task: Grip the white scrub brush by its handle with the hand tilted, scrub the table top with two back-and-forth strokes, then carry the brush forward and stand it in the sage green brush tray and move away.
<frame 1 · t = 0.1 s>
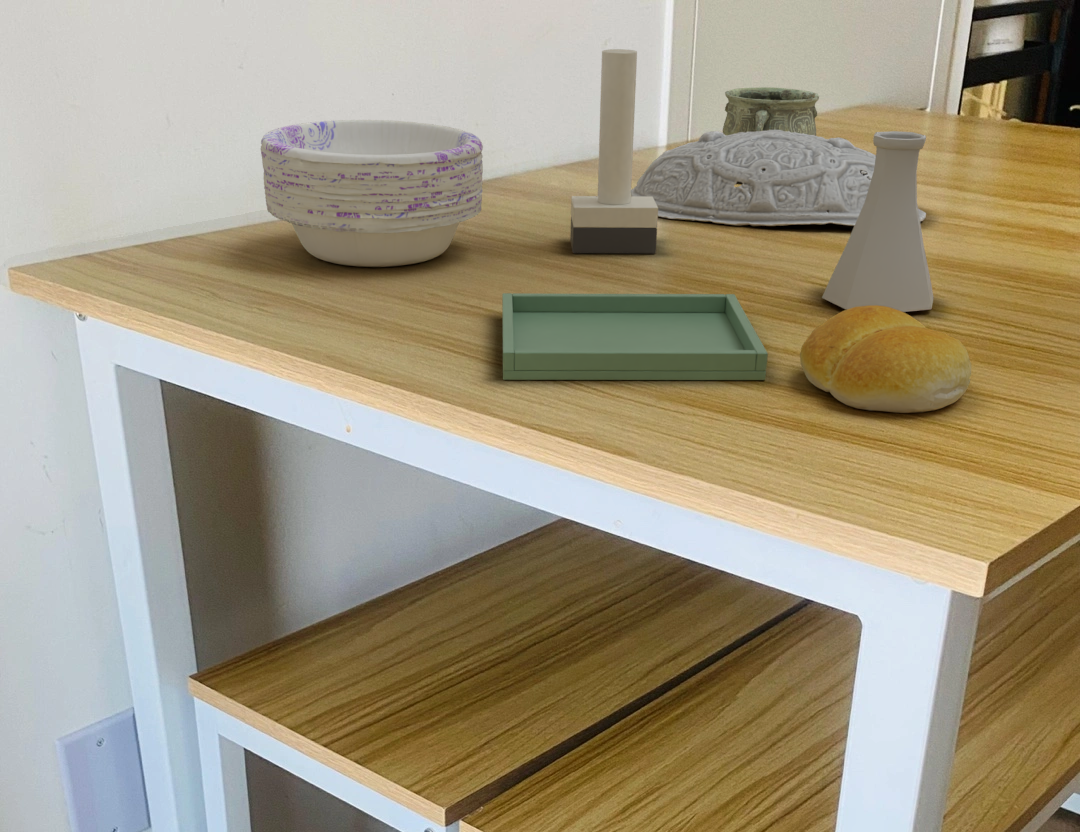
grey carved stone ornament: (769, 211, 113), on the table
brush: (612, 247, 100), on the table
paper bowls: (378, 255, 98), on the table
flask: (876, 305, 88), on the table
vessel: (765, 167, 130), on the table
bread roll: (880, 392, 73), on the table
brush tray: (625, 347, 79), on the table
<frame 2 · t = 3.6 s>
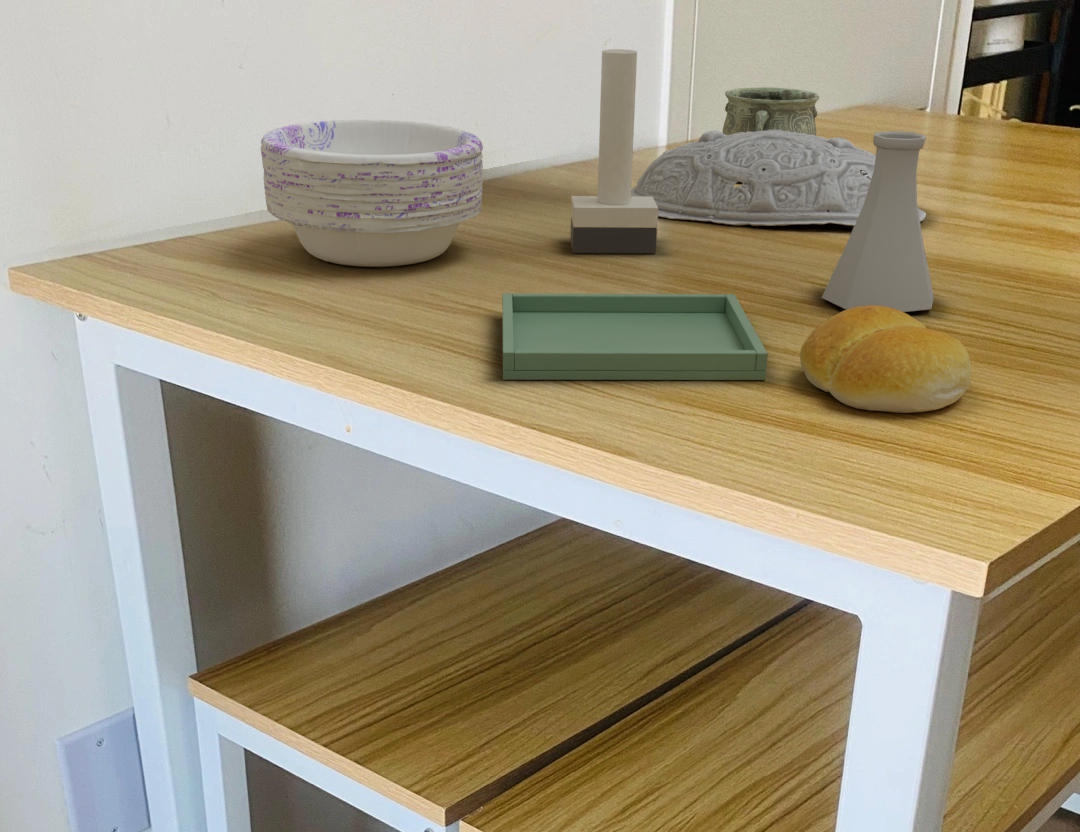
nothing on the table moved.
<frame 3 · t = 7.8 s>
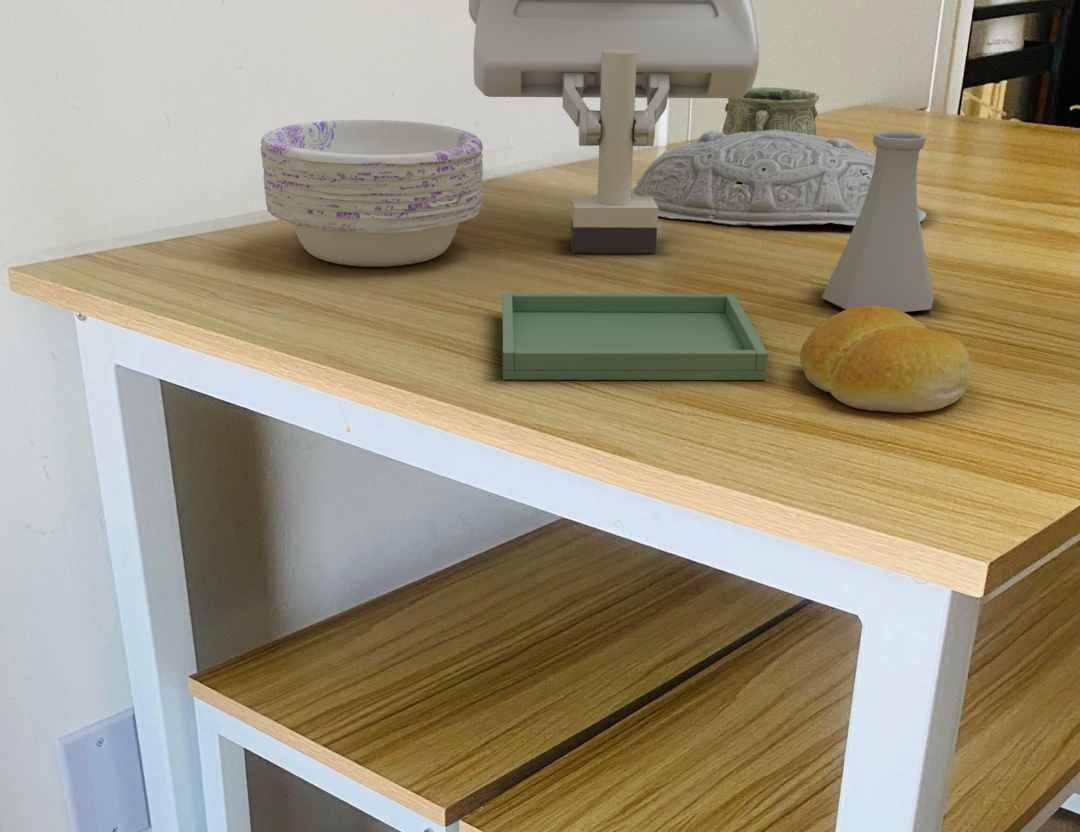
hand: (617, 141, 96), 7 cm above the table, tool tilted 45°, fingers closed on brush, 2 cm apart
brush: (612, 247, 100), on the table, touching gripper
everything else where it was.
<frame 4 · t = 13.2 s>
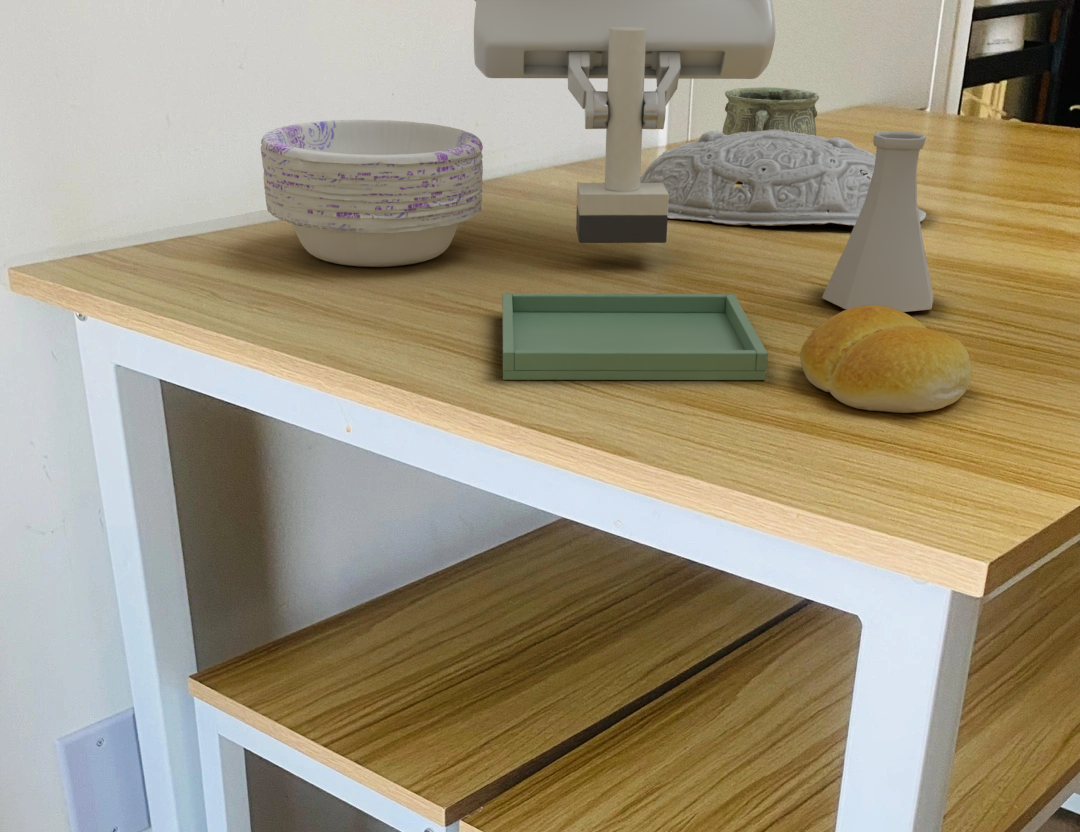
hand: (625, 123, 91), 9 cm above the table, tool tilted 45°, fingers closed on brush, 2 cm apart
brush: (620, 236, 95), point 2 cm above the table, touching gripper
everything else where it was.
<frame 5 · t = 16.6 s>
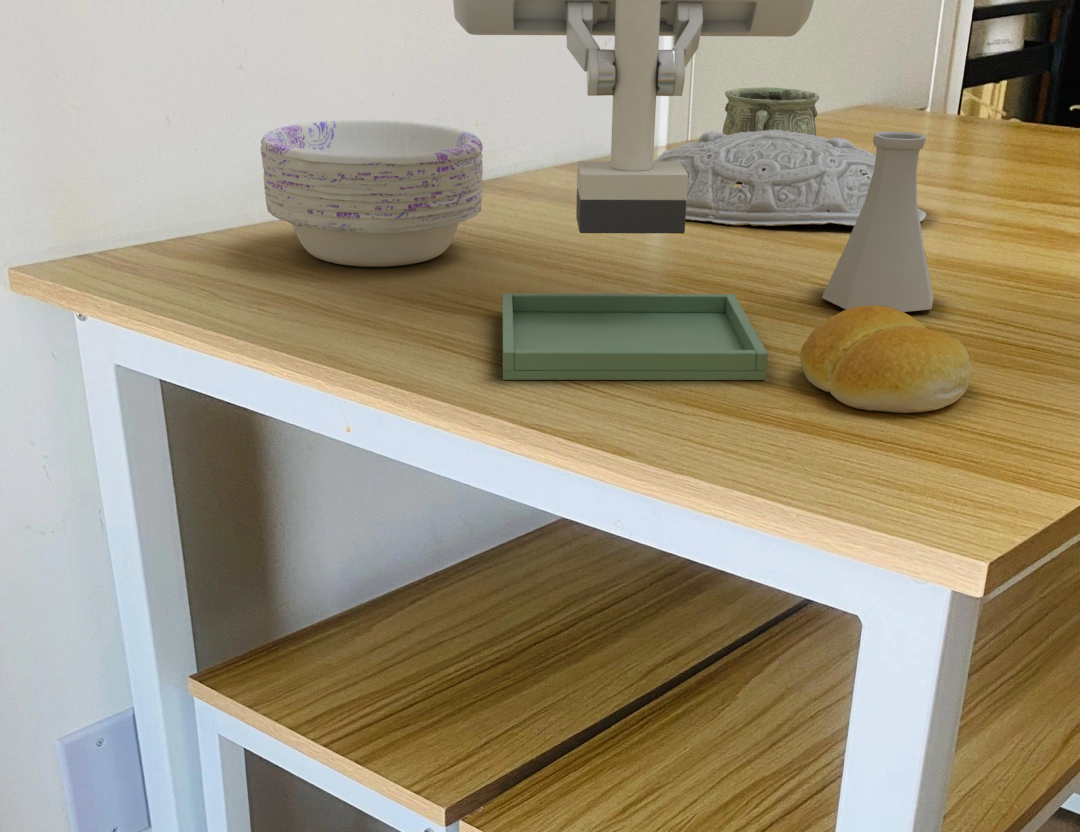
hand: (636, 89, 75), 13 cm above the table, tool tilted 45°, fingers closed on brush, 2 cm apart
brush: (629, 226, 80), point 6 cm above the table, touching gripper
everything else where it was.
when the fingers open (8 cm above the table, at t = 19.0 s): brush stays where it is, resting on brush tray.
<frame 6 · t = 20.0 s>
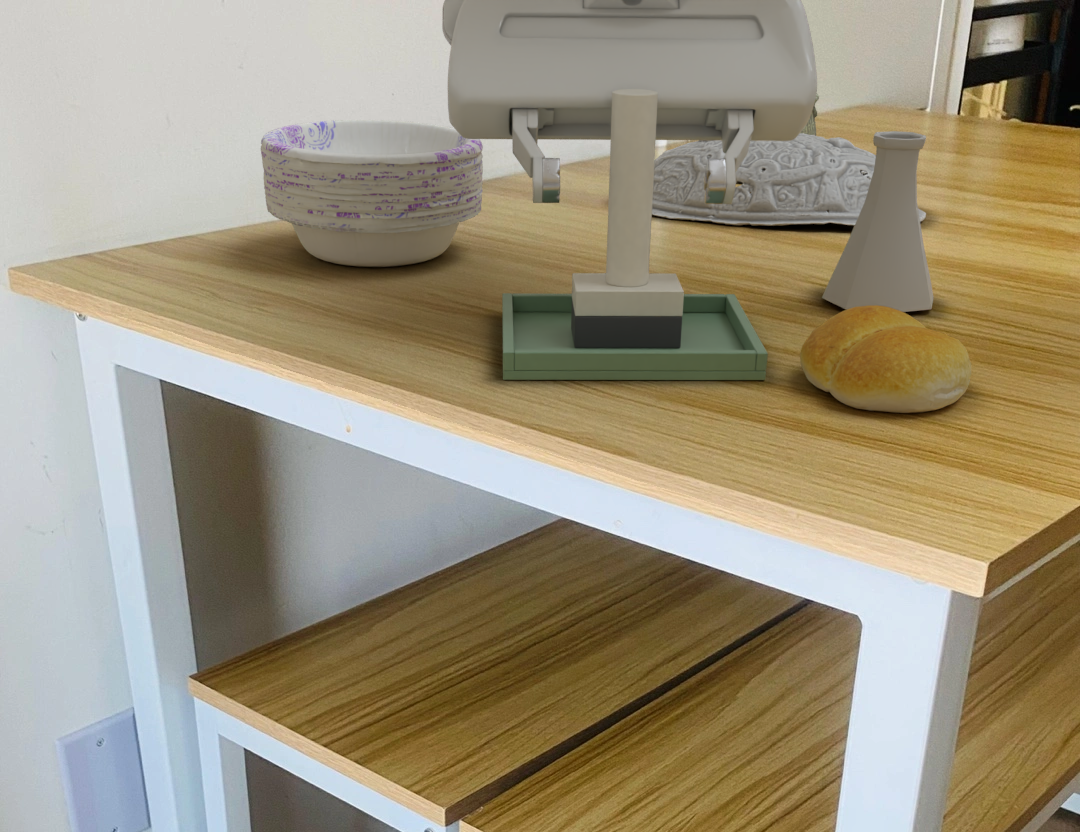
hand: (633, 197, 74), 8 cm above the table, tool tilted 45°, fingers open, 8 cm apart
brush: (624, 338, 79), resting on brush tray
everything else where it was.
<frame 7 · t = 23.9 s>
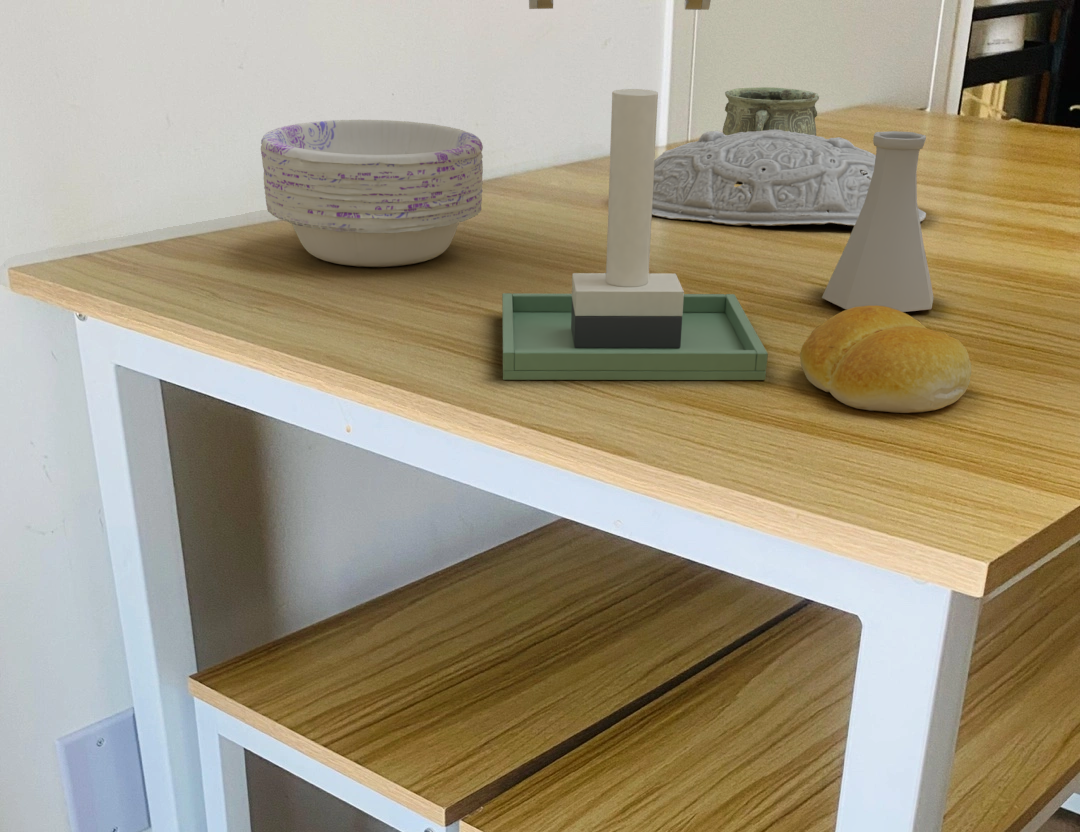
hand: (620, 2, 82), 17 cm above the table, tool tilted 45°, fingers open, 8 cm apart
nothing on the table moved.
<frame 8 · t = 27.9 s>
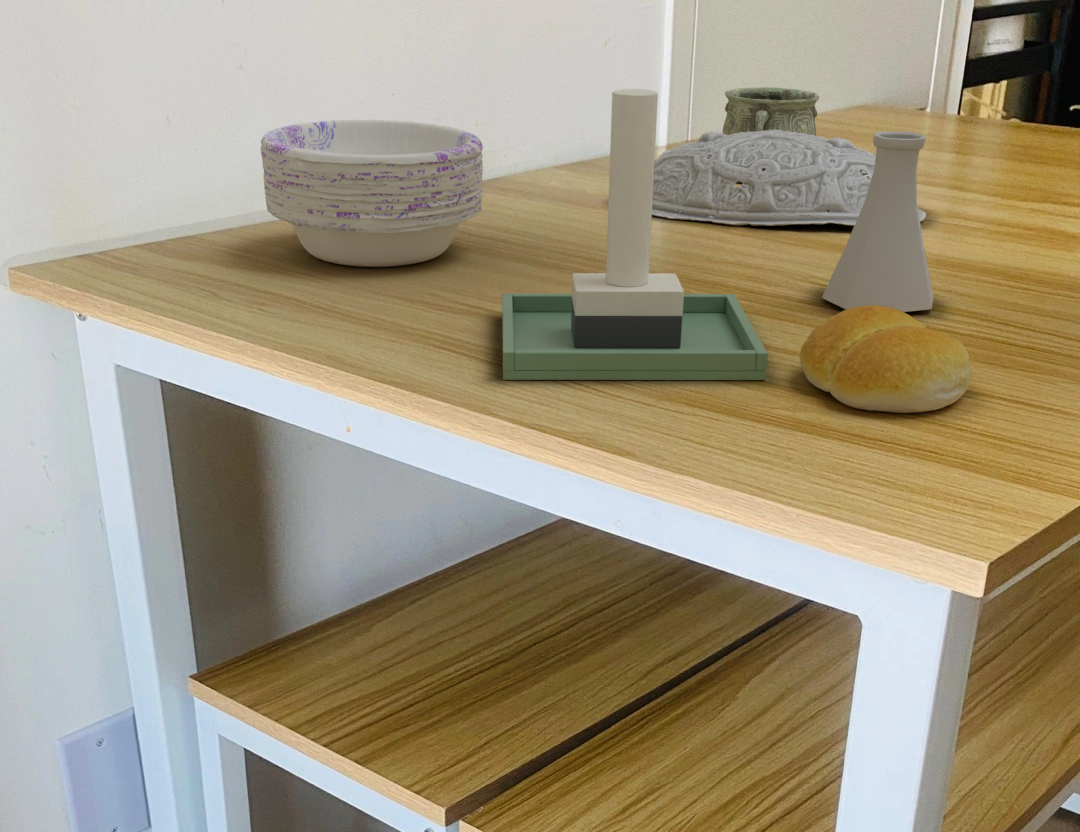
nothing on the table moved.
at the end: brush inside the target area on the brush tray (0.1 cm from its centre), point 0.5 cm above the brush tray's base; brush tilted 0°; the gripper is holding nothing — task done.
